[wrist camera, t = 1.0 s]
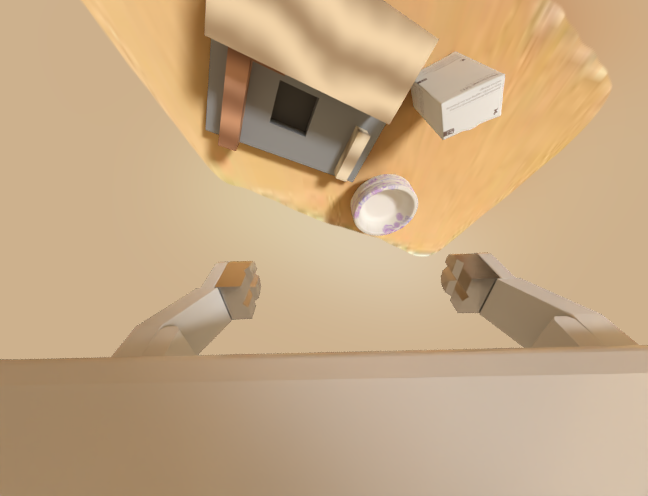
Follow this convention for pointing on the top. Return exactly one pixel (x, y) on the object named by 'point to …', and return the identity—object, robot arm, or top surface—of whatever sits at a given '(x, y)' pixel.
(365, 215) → the paper bowls
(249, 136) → the board
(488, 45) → the top surface
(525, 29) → the top surface
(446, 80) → the skincare box
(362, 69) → the shelf
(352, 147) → the stick
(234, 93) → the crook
